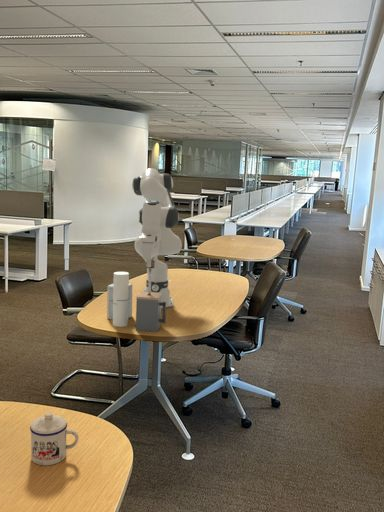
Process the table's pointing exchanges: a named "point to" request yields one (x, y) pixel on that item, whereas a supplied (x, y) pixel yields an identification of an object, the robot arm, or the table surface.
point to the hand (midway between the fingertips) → (150, 265)
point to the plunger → (150, 275)
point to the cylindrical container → (120, 299)
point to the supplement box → (110, 301)
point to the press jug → (149, 311)
